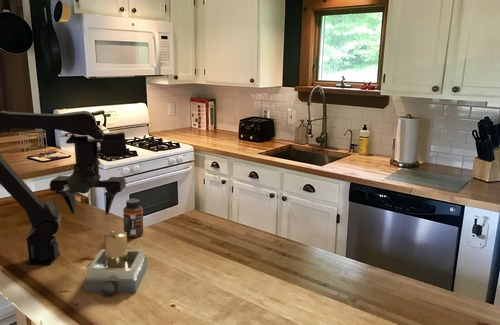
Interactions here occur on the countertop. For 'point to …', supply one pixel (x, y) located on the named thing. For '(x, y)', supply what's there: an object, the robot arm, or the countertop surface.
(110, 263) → the spout can
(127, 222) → the supplement bottle
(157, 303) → the countertop surface
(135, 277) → the grey open box
